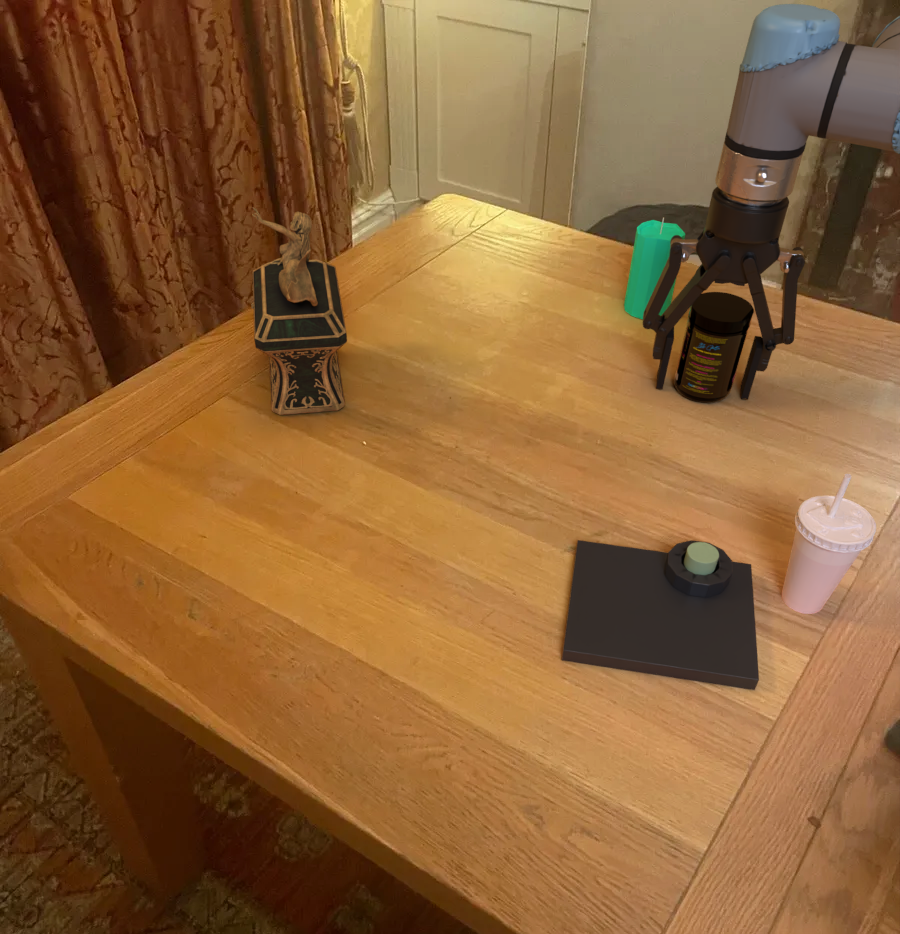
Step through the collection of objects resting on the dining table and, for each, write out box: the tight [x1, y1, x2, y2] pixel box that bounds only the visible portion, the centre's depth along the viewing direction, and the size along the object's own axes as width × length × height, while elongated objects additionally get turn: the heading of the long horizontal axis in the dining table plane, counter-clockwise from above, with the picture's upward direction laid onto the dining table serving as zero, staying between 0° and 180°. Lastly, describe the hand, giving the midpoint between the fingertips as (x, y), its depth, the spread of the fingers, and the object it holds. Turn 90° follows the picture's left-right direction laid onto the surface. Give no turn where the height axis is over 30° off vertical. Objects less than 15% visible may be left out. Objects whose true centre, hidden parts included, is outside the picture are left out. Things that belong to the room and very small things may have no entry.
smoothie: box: [781, 473, 877, 615], centre depth 77 cm, size 6×6×14 cm
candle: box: [623, 216, 686, 320], centre depth 115 cm, size 6×6×12 cm
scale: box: [561, 539, 760, 691], centre depth 79 cm, size 16×14×3 cm
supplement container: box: [673, 291, 755, 404], centre depth 102 cm, size 7×7×10 cm
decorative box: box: [250, 206, 348, 416], centre depth 97 cm, size 20×10×20 cm, turn 9°
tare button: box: [684, 541, 719, 575], centre depth 81 cm, size 3×3×2 cm
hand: (701, 387), depth 106 cm, fingers open, 9 cm apart
